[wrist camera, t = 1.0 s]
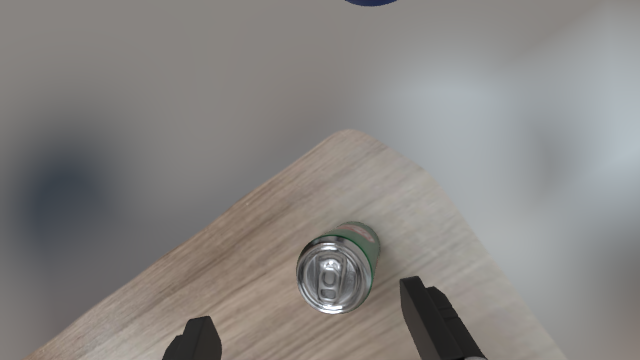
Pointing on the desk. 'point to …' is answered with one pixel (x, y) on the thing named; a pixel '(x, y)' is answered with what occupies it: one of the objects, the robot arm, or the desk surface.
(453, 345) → the robot arm
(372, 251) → the soda can
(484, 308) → the desk surface
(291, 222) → the desk surface
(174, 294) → the desk surface
